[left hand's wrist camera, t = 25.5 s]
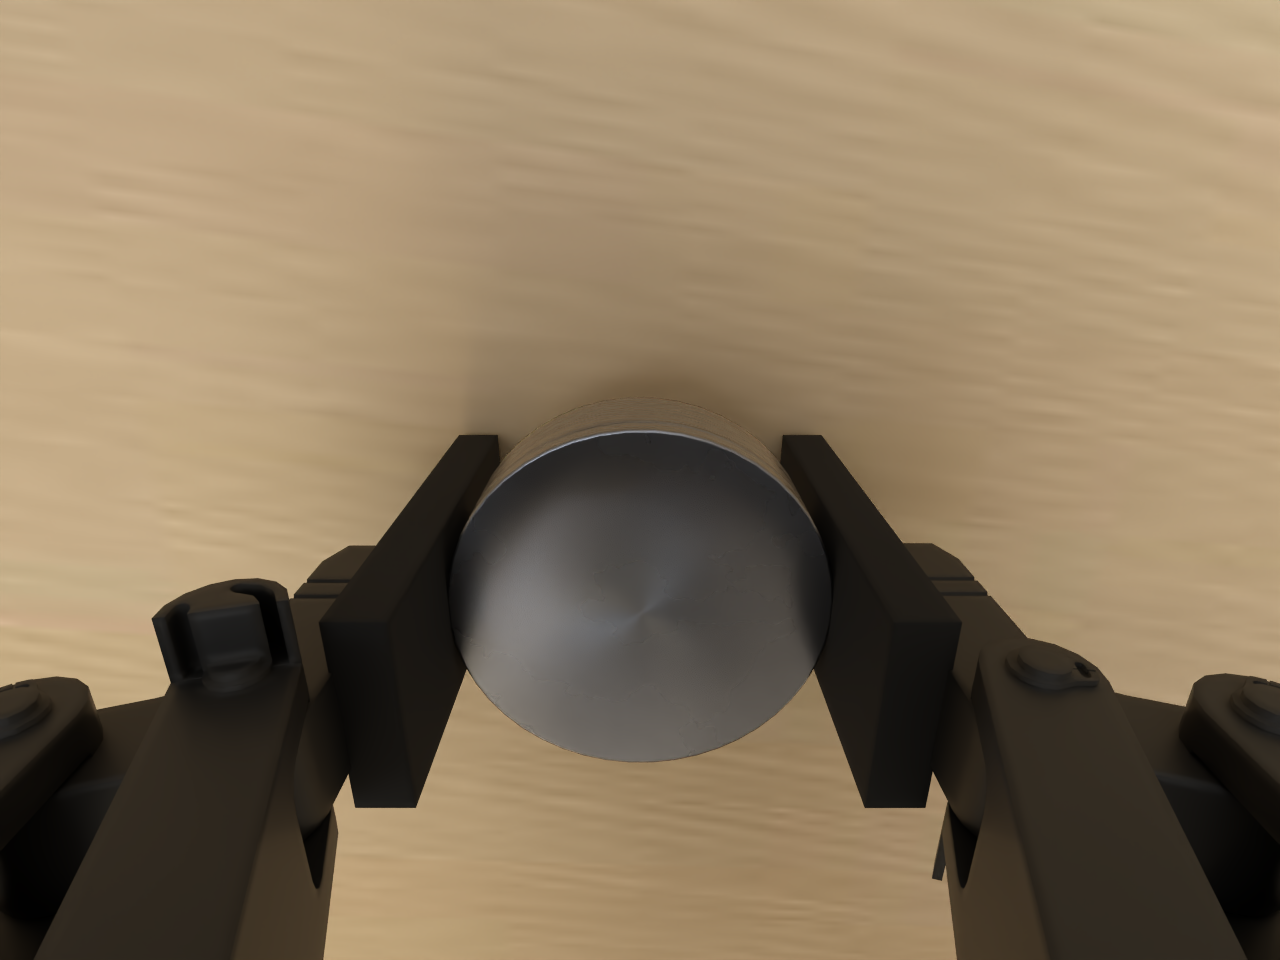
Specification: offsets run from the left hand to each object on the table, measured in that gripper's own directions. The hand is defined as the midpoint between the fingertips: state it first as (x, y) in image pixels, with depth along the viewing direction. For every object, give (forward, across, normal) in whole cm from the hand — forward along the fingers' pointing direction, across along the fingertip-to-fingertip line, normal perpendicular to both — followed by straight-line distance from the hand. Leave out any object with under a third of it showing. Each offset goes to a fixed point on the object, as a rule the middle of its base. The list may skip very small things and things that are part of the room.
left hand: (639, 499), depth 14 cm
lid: (-4, 0, 0) cm, 4 cm away
